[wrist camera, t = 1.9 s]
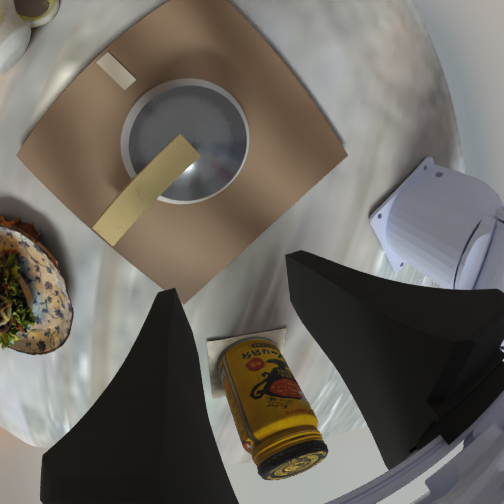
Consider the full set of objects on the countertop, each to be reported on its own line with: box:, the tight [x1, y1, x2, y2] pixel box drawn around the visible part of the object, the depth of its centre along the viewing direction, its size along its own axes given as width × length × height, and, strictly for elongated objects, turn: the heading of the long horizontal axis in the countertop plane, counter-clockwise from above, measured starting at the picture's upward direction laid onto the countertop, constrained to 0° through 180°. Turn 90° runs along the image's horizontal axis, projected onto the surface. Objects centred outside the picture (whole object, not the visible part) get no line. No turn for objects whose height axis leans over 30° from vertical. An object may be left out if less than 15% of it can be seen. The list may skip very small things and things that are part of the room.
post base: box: [16, 0, 348, 304], centre depth 15 cm, size 16×16×1 cm
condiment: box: [207, 328, 328, 480], centre depth 21 cm, size 7×8×12 cm
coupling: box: [93, 85, 247, 246], centre depth 13 cm, size 9×6×4 cm, turn 129°
